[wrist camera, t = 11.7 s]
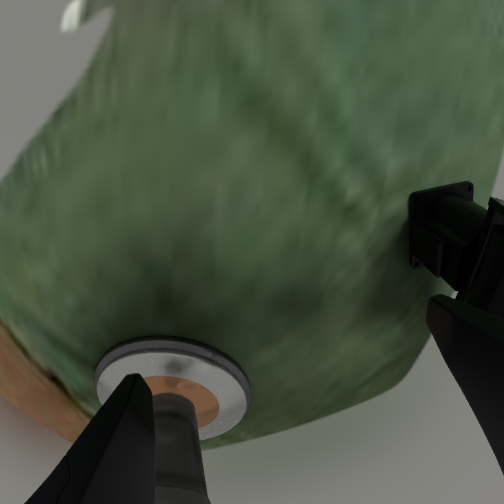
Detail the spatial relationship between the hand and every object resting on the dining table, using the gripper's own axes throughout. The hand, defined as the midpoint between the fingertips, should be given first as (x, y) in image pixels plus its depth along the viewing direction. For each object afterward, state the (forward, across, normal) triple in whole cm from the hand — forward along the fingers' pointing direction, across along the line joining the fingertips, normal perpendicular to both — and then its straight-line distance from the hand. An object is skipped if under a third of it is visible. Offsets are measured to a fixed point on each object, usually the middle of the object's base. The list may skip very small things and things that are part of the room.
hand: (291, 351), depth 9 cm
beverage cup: (+11, +11, +16) cm, 23 cm away
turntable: (+13, +11, +16) cm, 23 cm away
